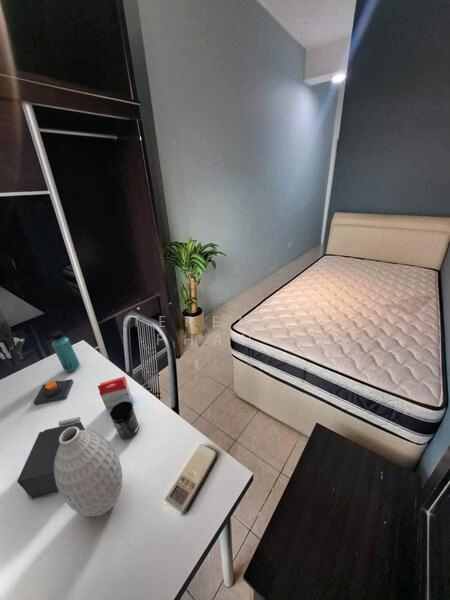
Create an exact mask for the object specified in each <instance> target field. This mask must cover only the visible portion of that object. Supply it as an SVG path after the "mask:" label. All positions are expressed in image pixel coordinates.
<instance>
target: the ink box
mask: <svg viewBox="0 0 450 600" xmlns="http://www.w3.org/2000/svg"><path fill="white" fill-rule="evenodd" d="M97 389H98V392H99V395H100V398H101V400H102V402H103V405H104V407H105V409H106V411H107V413H108V414H107V415H109V416H110V412H111V410H112V408H113V407H114V406H115V405H117V404H118V403H120V402H124V401H127V402H130V403H131V404H132V406H133V407H134V401H133V396H132V393H131V390H130V386H129V384H128V382H127V379H126V376H121V377H116V378H114V379H110V380H107V381H104V382H100V383H99V384H98V385H97Z"/></svg>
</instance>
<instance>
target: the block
mask: <svg viewBox="0 0 450 600" xmlns="http://www.w3.org/2000/svg"><path fill="white" fill-rule="evenodd" d="M54 381H55V382H56V383H57V388H55V389H54V390H52V391H47V389H46V388H45V386H46V384H47V383H45V384H42V386H41V387H40V389H39V391H38V393H37V395H36V396H35V399H34V400H33V402H32V403H33V405H34V406H39V405H40V406H41V405H45V404H49V403H53V402H58V401H64V400H67V399H68V396H69V393H70V391H71V389H72V387H73V384H74V380H73V378H71V379H70V378H69V379H65V380H54Z"/></svg>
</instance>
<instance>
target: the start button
mask: <svg viewBox="0 0 450 600" xmlns="http://www.w3.org/2000/svg"><path fill="white" fill-rule="evenodd" d="M55 381H56V380H52V381H49V382H47V383H45V384H46V386H45V388H46V389H47V391H52V390H54V389H55V388H57V383H56V382H55Z"/></svg>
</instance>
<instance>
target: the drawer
mask: <svg viewBox="0 0 450 600" xmlns="http://www.w3.org/2000/svg"><path fill="white" fill-rule="evenodd" d="M79 423H81V424H82V426H83V428H84V430H85V431H86V429H85V427H84V425H83V423H82V421H81V417H80V416H76V417H72V418H67V419H63V420H59V421H58V426H56V427H52V428H47V429H44V430H43V431H47V430H52V429H56V428H61V427H65V426H70V425H74V424H79Z"/></svg>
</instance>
